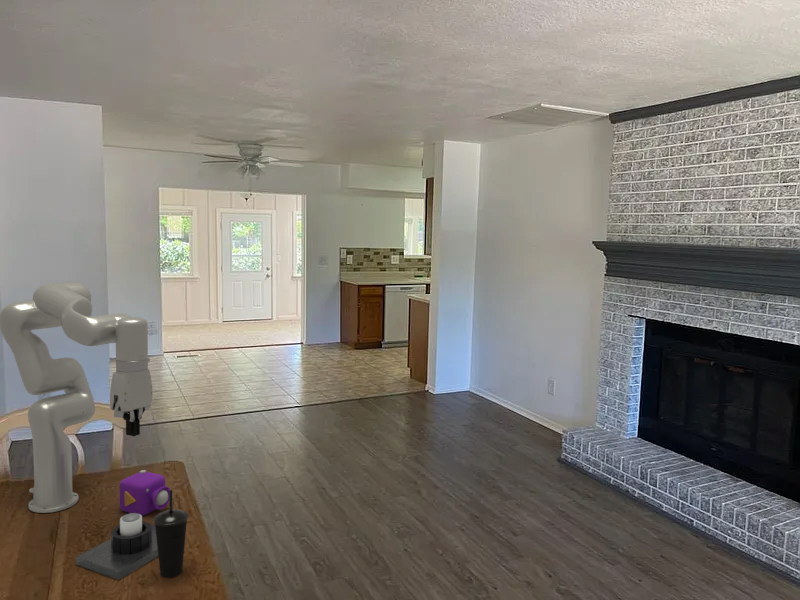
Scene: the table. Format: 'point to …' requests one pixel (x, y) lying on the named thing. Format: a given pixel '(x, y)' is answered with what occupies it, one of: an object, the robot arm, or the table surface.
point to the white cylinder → (131, 524)
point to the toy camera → (143, 493)
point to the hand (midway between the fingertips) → (132, 434)
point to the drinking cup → (170, 539)
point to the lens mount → (121, 553)
